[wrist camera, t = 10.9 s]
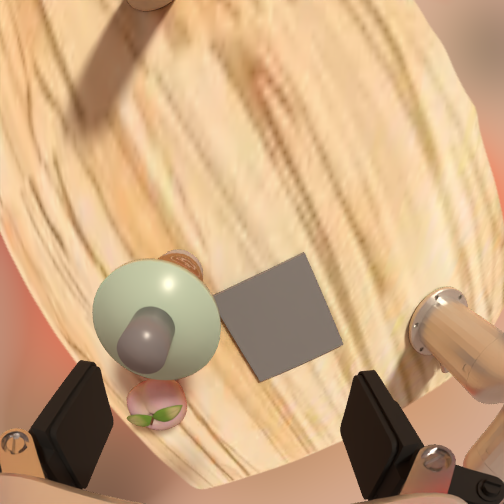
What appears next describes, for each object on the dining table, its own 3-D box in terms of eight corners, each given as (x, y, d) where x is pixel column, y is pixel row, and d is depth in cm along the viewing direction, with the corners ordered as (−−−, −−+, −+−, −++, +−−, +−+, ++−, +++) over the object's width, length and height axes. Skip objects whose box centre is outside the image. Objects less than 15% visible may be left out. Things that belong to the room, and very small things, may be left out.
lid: (243, 347, 29) (246, 383, 24) (141, 388, 30) (128, 422, 24) (178, 234, 26) (165, 250, 21) (74, 292, 27) (47, 316, 21)
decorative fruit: (158, 409, 48) (147, 450, 39) (127, 376, 46) (110, 416, 37) (202, 390, 47) (197, 434, 38) (171, 354, 46) (159, 395, 36)
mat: (342, 342, 46) (343, 344, 46) (260, 379, 47) (260, 381, 47) (303, 252, 43) (304, 253, 42) (210, 296, 43) (210, 298, 43)
